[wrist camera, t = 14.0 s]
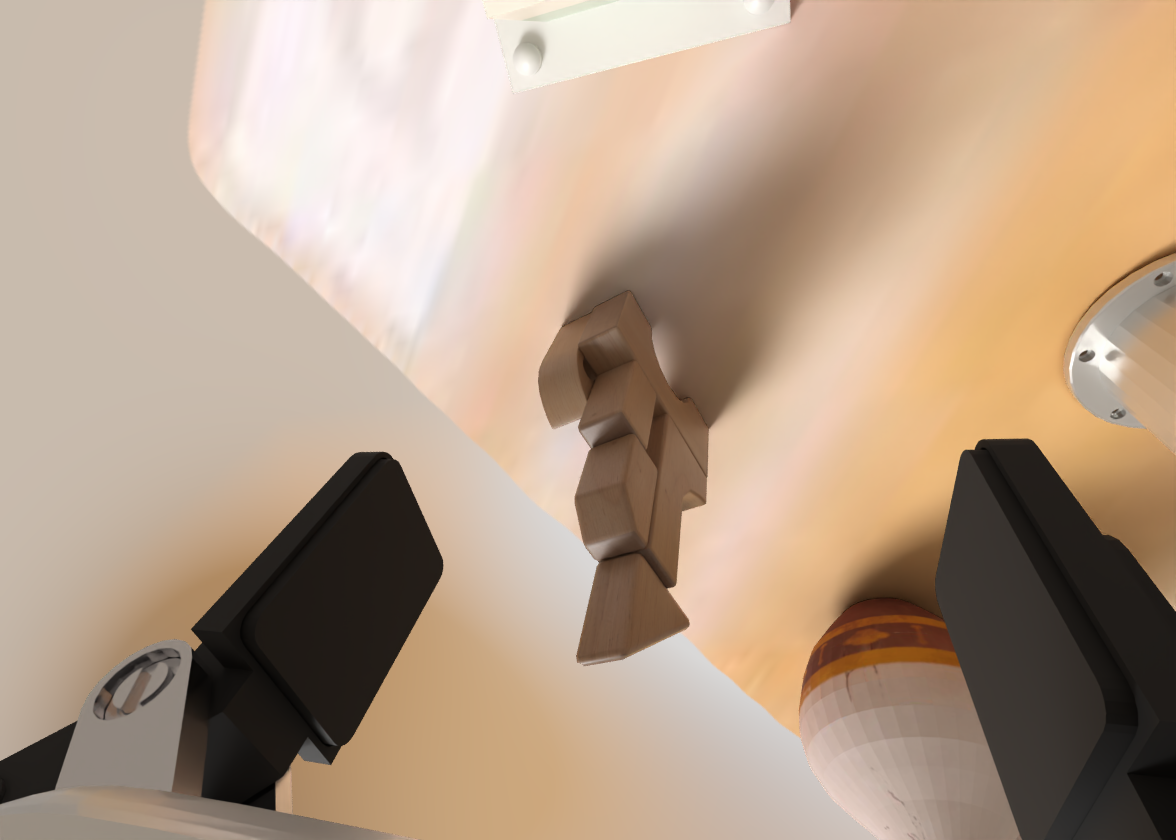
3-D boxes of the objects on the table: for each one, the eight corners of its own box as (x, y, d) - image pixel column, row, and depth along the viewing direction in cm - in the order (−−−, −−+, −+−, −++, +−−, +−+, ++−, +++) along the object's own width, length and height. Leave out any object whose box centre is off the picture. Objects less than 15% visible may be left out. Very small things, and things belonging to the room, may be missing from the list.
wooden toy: (555, 325, 44) (414, 578, 24) (629, 288, 41) (542, 539, 21) (648, 468, 50) (599, 764, 30) (718, 444, 47) (717, 755, 27)
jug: (1046, 637, 52) (1327, 1162, 28) (886, 703, 62) (992, 1131, 38) (892, 532, 49) (1062, 1027, 24) (750, 620, 59) (770, 1032, 35)
